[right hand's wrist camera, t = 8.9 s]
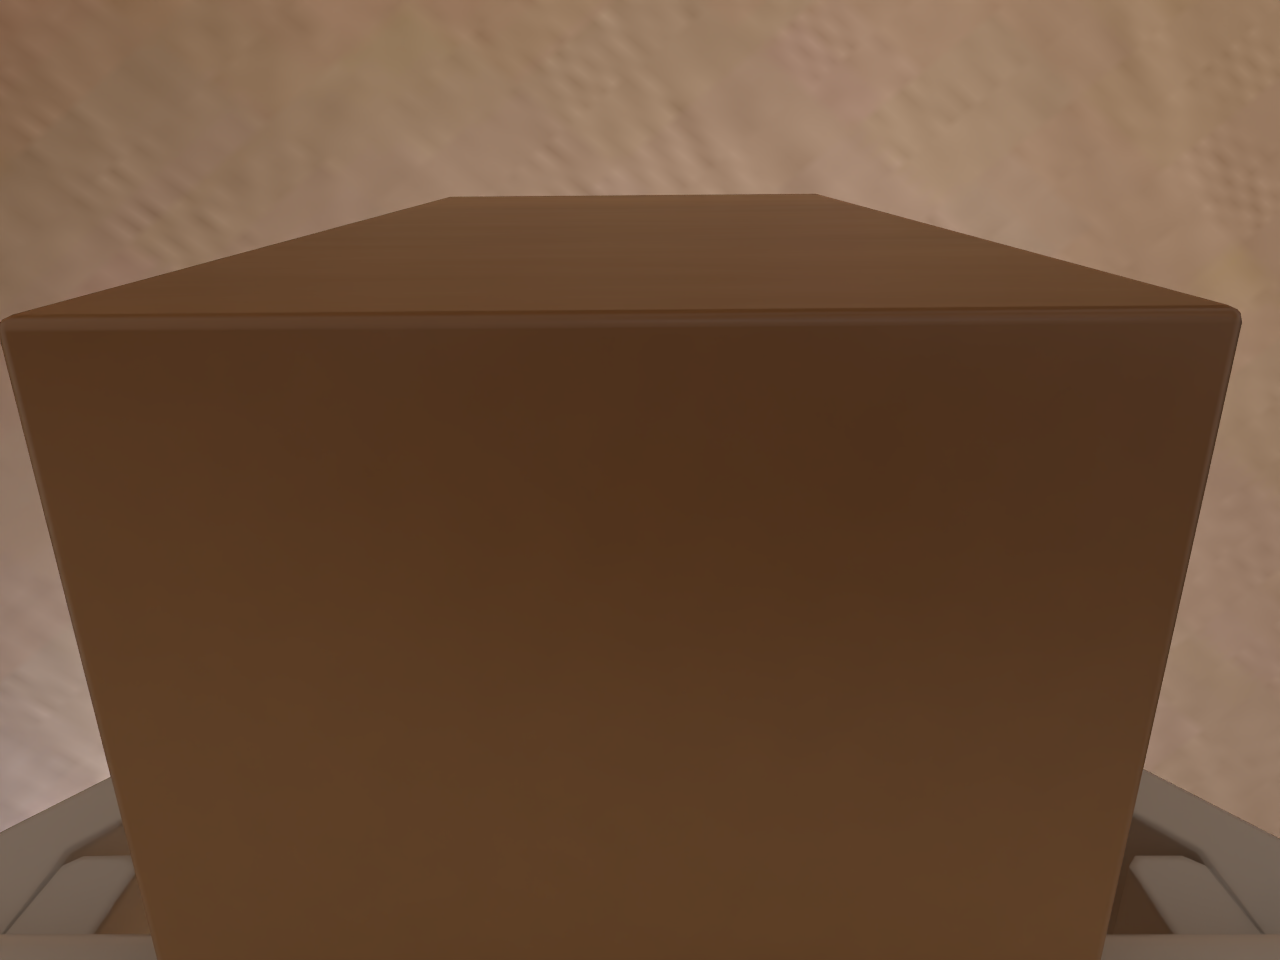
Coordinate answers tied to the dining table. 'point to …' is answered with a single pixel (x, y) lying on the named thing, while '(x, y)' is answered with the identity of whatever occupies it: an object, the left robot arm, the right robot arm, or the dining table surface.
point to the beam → (625, 579)
